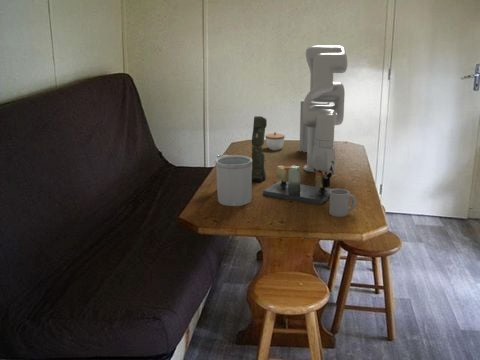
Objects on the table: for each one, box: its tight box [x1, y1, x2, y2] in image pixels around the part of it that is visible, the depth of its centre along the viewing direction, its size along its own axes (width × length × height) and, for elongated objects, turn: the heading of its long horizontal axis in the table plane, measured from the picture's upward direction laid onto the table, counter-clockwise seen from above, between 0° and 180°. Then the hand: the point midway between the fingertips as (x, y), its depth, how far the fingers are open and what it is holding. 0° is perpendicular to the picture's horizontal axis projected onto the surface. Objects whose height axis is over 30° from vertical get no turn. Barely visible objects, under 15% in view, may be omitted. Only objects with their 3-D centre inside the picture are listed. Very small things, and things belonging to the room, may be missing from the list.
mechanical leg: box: [251, 115, 267, 184], centre depth 257 cm, size 14×7×30 cm, turn 168°
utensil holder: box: [214, 154, 253, 207], centre depth 227 cm, size 15×15×18 cm
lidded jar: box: [264, 131, 286, 151], centre depth 315 cm, size 11×11×9 cm
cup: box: [328, 188, 357, 218], centre depth 213 cm, size 7×10×9 cm
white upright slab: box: [299, 99, 330, 153], centre depth 307 cm, size 19×15×28 cm
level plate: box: [262, 165, 333, 206], centre depth 235 cm, size 16×26×13 cm, turn 61°
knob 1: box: [276, 165, 291, 184], centre depth 243 cm, size 8×3×8 cm, turn 22°
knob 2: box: [314, 171, 328, 190], centre depth 234 cm, size 8×3×8 cm, turn 143°
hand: (322, 185), depth 235 cm, fingers closed on knob 2, 3 cm apart
